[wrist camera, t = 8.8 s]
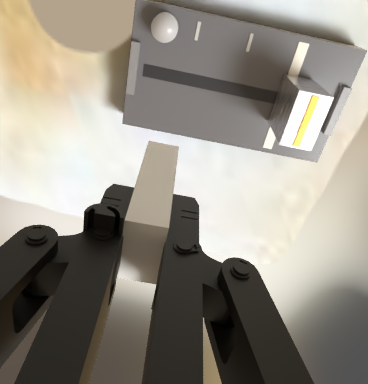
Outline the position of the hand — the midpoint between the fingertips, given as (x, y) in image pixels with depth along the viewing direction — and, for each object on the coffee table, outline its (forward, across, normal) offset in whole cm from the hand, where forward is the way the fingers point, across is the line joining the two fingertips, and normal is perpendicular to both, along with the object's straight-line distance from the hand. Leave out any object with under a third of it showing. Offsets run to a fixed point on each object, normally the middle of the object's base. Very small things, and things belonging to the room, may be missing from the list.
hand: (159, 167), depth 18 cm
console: (+22, +6, 0) cm, 23 cm away
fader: (+20, +12, 0) cm, 23 cm away
